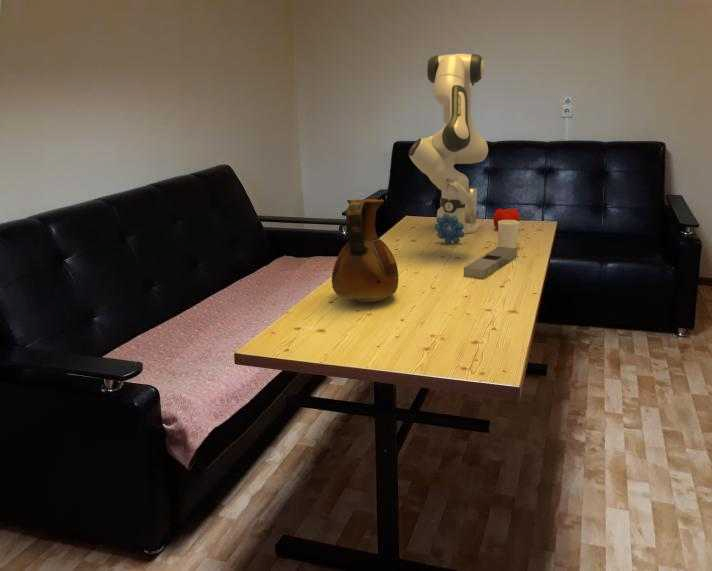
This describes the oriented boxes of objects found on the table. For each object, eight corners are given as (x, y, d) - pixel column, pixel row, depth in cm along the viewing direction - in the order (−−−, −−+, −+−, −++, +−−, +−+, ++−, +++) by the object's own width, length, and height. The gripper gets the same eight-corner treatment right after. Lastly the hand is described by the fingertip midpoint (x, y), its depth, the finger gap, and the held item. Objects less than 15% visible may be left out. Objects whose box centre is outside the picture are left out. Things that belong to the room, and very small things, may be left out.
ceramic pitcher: (404, 290, 212) (404, 193, 203) (390, 311, 193) (389, 206, 184) (343, 286, 217) (341, 192, 208) (324, 306, 198) (320, 204, 190)
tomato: (495, 233, 284) (496, 211, 281) (491, 227, 295) (492, 206, 292) (521, 233, 283) (523, 211, 280) (516, 226, 295) (517, 206, 292)
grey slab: (498, 254, 251) (498, 246, 250) (516, 256, 247) (517, 248, 246) (463, 276, 225) (463, 267, 224) (483, 279, 221) (484, 270, 221)
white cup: (516, 245, 263) (518, 219, 260) (519, 250, 256) (520, 224, 253) (496, 245, 264) (497, 219, 261) (498, 250, 257) (499, 224, 254)
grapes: (433, 245, 265) (433, 215, 262) (434, 241, 271) (435, 211, 268) (463, 246, 263) (464, 215, 259) (464, 242, 269) (465, 212, 266)
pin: (467, 220, 249) (468, 187, 245) (477, 221, 247) (478, 188, 243) (462, 222, 245) (463, 189, 242) (473, 223, 243) (474, 190, 240)
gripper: (455, 175, 231) (483, 203, 233) (448, 167, 250) (474, 193, 253) (442, 189, 232) (470, 216, 235) (436, 179, 252) (462, 205, 254)
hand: (472, 204), depth 244 cm, fingers closed on pin, 4 cm apart
